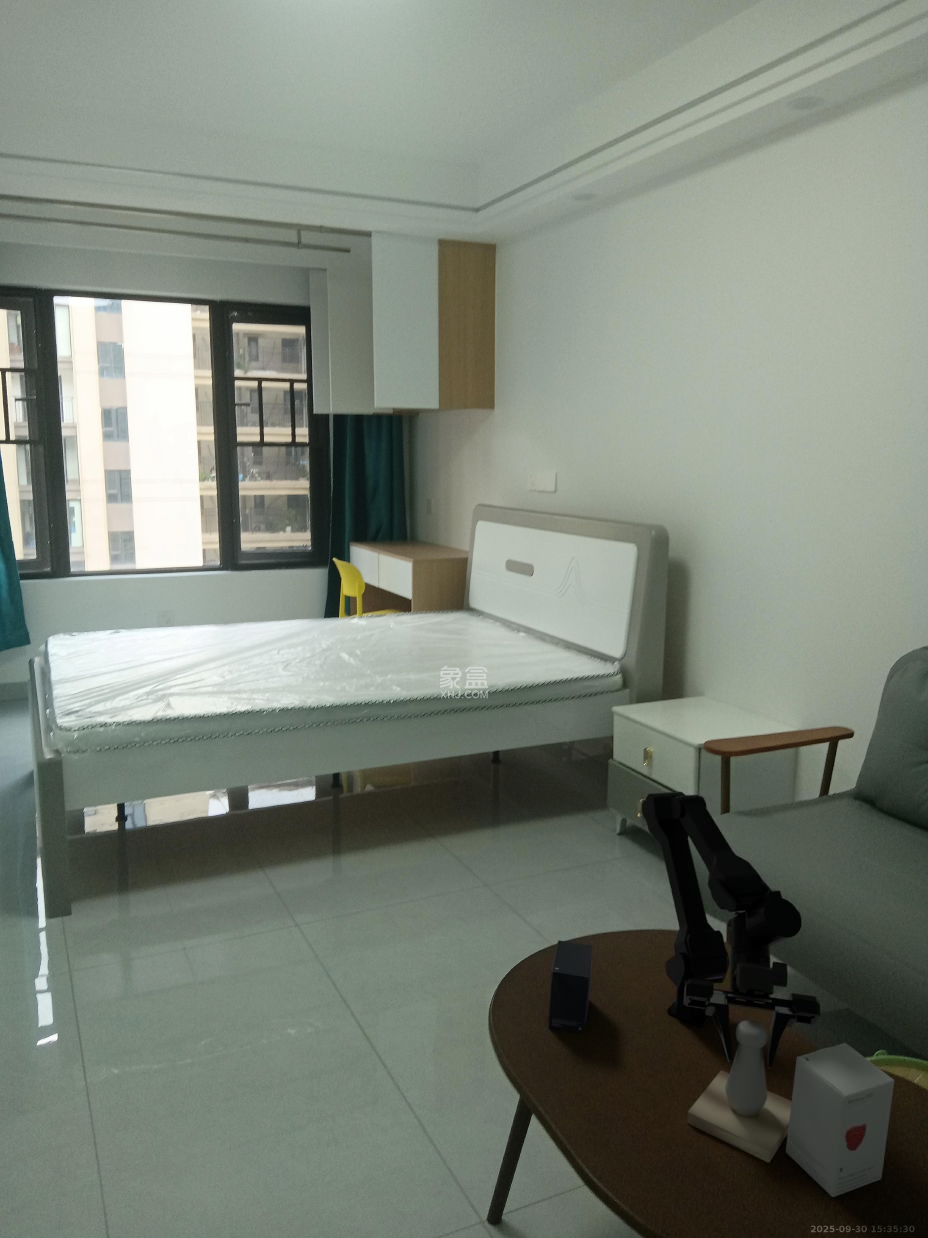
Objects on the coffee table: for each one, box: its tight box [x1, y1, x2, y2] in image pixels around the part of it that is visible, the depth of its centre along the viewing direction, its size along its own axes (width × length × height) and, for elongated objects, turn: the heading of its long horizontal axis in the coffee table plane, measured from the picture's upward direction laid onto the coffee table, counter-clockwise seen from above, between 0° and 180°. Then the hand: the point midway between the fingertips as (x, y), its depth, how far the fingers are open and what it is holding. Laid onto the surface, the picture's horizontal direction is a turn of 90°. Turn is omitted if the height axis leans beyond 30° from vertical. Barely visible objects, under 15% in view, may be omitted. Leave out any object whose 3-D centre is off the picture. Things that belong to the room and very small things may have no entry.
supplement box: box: [785, 1042, 895, 1198], centre depth 127 cm, size 9×9×15 cm
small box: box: [547, 940, 593, 1034], centre depth 160 cm, size 11×6×10 cm, turn 168°
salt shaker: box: [725, 1019, 769, 1117], centre depth 135 cm, size 6×6×13 cm
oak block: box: [686, 1069, 792, 1163], centre depth 136 cm, size 12×12×2 cm
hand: (749, 1064), depth 133 cm, fingers open, 5 cm apart
